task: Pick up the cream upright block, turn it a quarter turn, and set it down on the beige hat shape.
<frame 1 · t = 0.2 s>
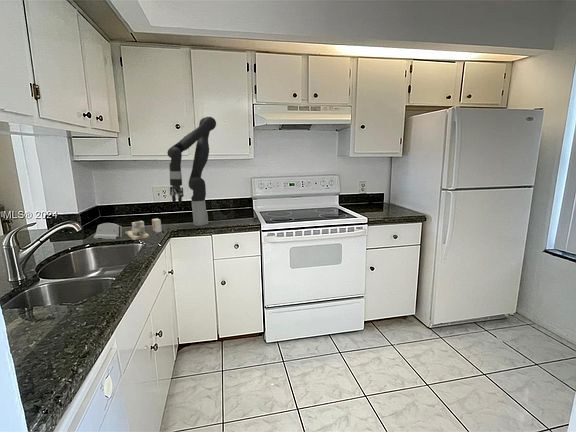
hand: (177, 202, 211), 18 cm above the counter, tool pointing down, fingers open, 8 cm apart
hinge: (109, 237, 196), on the counter
beige hat shape: (137, 235, 198), on the counter
cream upright block: (157, 231, 207), on the counter
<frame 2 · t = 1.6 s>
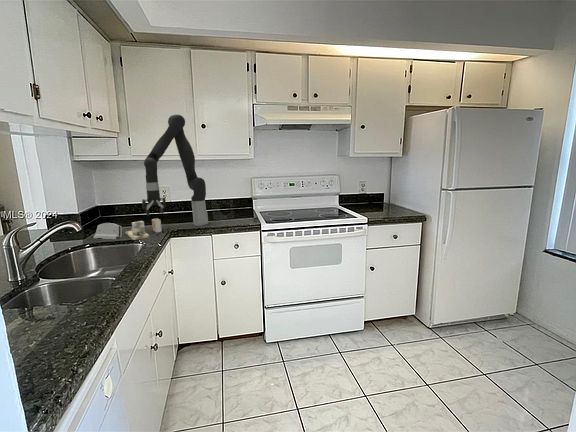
hand: (155, 214, 205), 11 cm above the counter, tool pointing down, fingers open, 8 cm apart
nothing on the counter moved.
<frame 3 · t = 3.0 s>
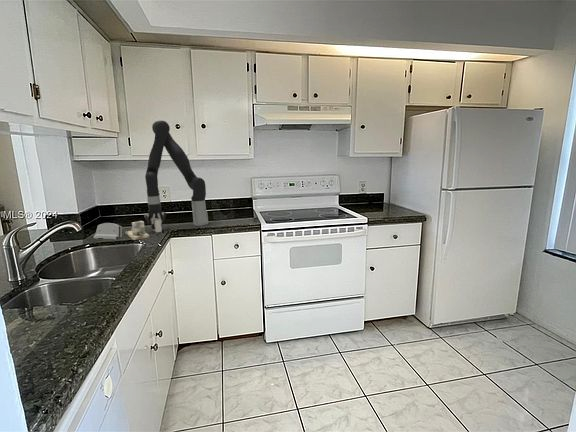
hand: (156, 228, 207), 2 cm above the counter, tool pointing down, fingers closed on cream upright block, 4 cm apart
cream upright block: (157, 231, 207), on the counter, touching gripper
everything else where it was.
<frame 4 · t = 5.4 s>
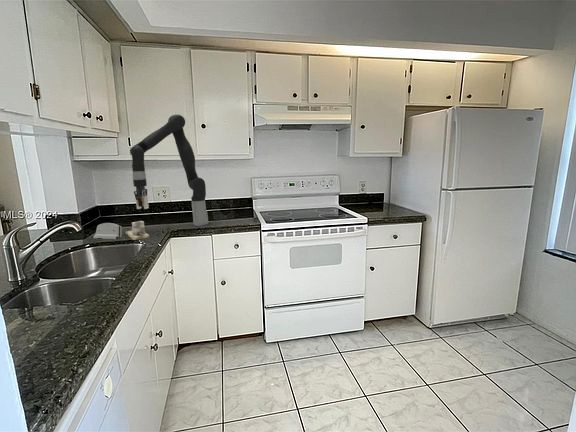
hand: (142, 205, 200), 18 cm above the counter, tool pointing down, fingers closed on cream upright block, 4 cm apart
cream upright block: (142, 208, 200), point 16 cm above the counter, touching gripper
everything else where it was.
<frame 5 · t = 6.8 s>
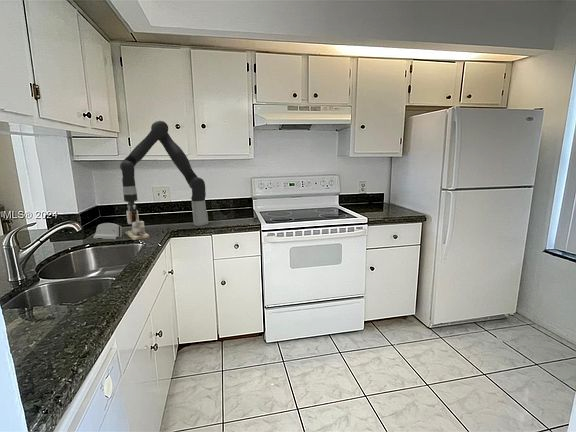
hand: (133, 220, 199), 9 cm above the counter, tool pointing down, fingers closed on cream upright block, 4 cm apart
cream upright block: (133, 223, 200), point 7 cm above the counter, touching gripper
everything else where it was.
when the fingers open (4 cm above the counter, at t = 8.0 s): cream upright block stays where it is, resting on beige hat shape.
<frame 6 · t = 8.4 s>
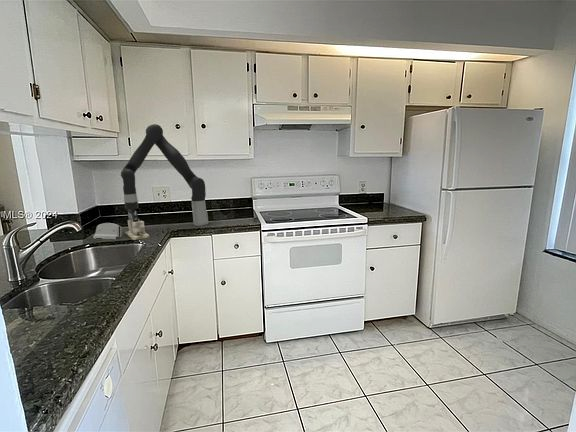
hand: (134, 226, 200), 5 cm above the counter, tool pointing down, fingers open, 7 cm apart
cream upright block: (135, 231, 201), point 2 cm above the counter, touching beige hat shape
everything else where it was.
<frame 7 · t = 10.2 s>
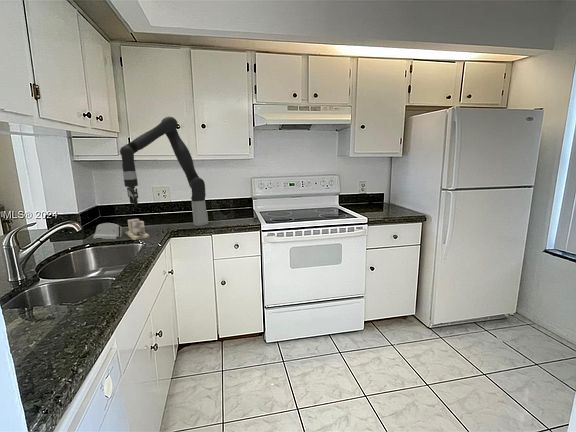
hand: (134, 204, 200), 19 cm above the counter, tool pointing down, fingers open, 8 cm apart
nothing on the counter moved.
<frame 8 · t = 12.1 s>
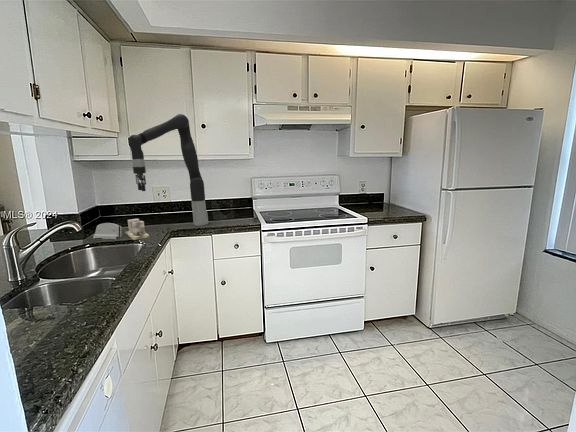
hand: (141, 190, 211), 26 cm above the counter, tool pointing down, fingers open, 8 cm apart
nothing on the counter moved.
at the end: cream upright block 0.2 cm from the target spot, point 1.5 cm above the counter; cream upright block tilted 0°; the gripper is holding nothing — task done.
